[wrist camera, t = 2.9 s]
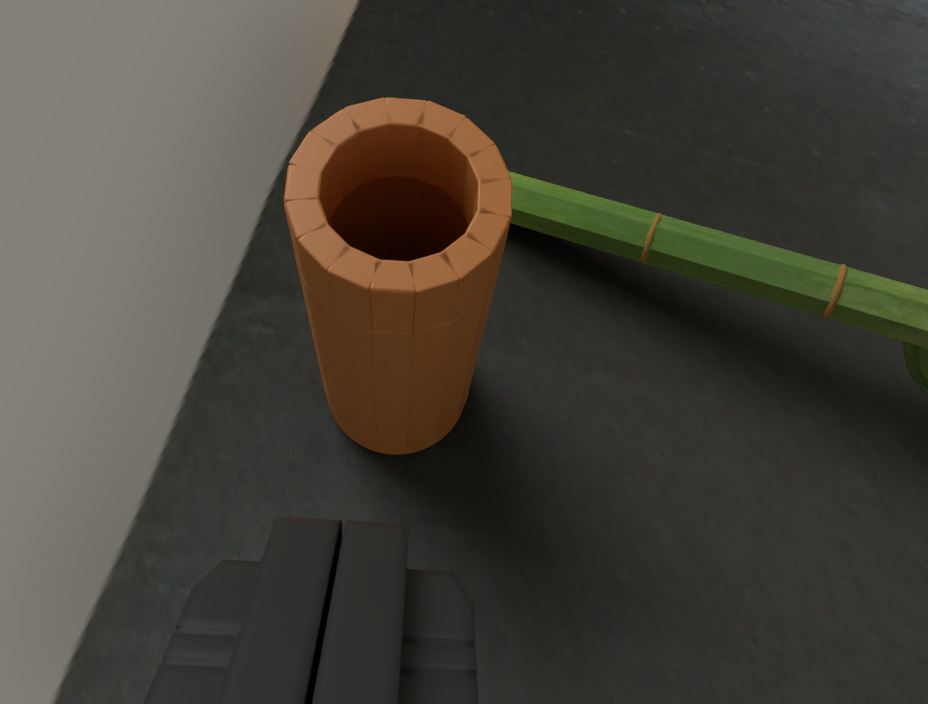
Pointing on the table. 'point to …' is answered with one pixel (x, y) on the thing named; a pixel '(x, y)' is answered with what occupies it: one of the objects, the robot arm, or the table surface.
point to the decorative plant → (731, 263)
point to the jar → (397, 263)
